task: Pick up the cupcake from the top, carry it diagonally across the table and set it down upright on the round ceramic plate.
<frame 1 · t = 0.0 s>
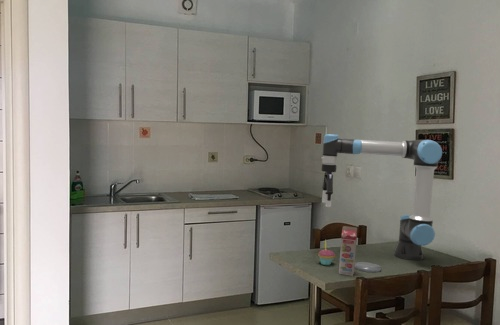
hand: (326, 204, 240), 28 cm above the table, tool pointing down, fingers open, 13 cm apart
juice carton: (346, 273, 217), on the table
cupcake: (325, 264, 230), on the table
plate: (367, 268, 227), on the table
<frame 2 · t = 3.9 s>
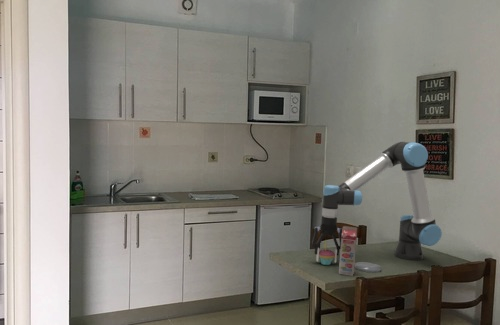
hand: (326, 261, 230), 1 cm above the table, tool pointing down, fingers closed on cupcake, 8 cm apart
cupcake: (325, 264, 230), on the table, touching gripper
everything else where it was.
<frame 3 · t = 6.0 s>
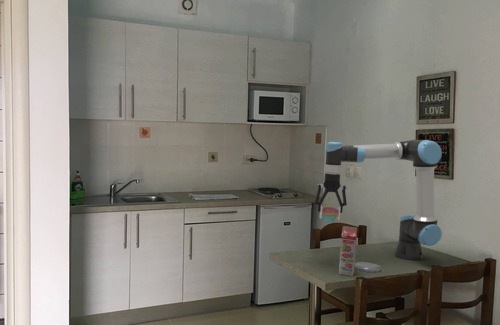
hand: (329, 218, 229), 23 cm above the table, tool pointing down, fingers closed on cupcake, 8 cm apart
cupcake: (329, 221, 229), point 21 cm above the table, touching gripper
everything else where it was.
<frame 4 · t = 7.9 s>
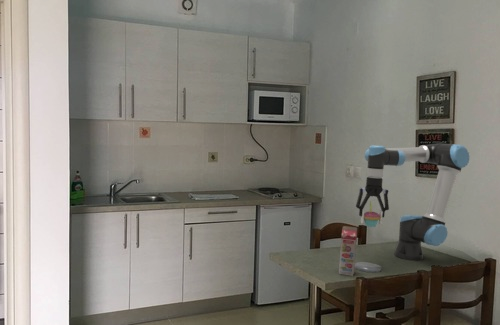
hand: (371, 223, 225), 22 cm above the table, tool pointing down, fingers closed on cupcake, 8 cm apart
cupcake: (370, 226, 225), point 21 cm above the table, touching gripper
everything else where it was.
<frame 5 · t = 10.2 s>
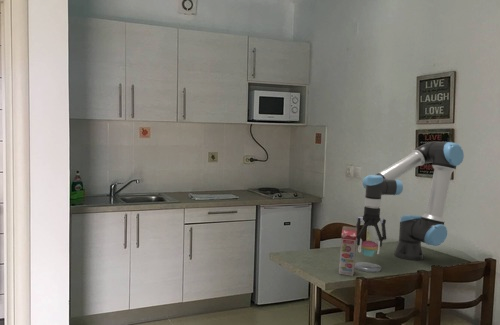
hand: (368, 252, 226), 8 cm above the table, tool pointing down, fingers closed on cupcake, 8 cm apart
cupcake: (368, 255, 226), point 6 cm above the table, touching gripper
everything else where it was.
when the fingers open (4 cm above the table, at t = 12.1 s): cupcake drops 1 cm, resting on plate.
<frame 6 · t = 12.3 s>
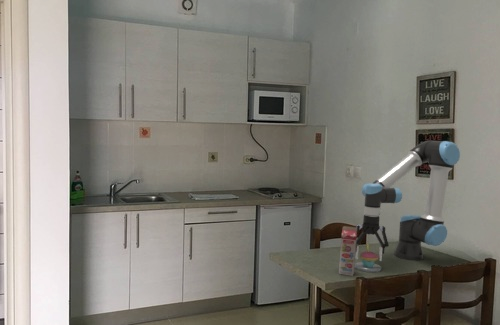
hand: (368, 259, 226), 4 cm above the table, tool pointing down, fingers open, 11 cm apart
cupcake: (368, 266, 227), point 1 cm above the table, touching plate
everything else where it was.
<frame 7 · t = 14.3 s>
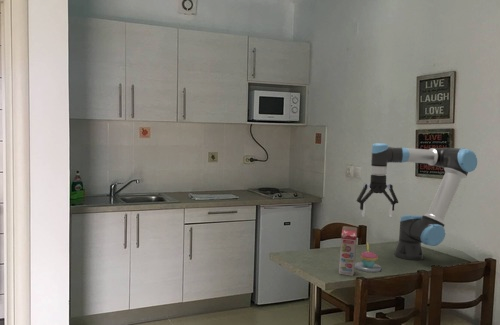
hand: (376, 216, 230), 25 cm above the table, tool pointing down, fingers open, 13 cm apart
nothing on the table moved.
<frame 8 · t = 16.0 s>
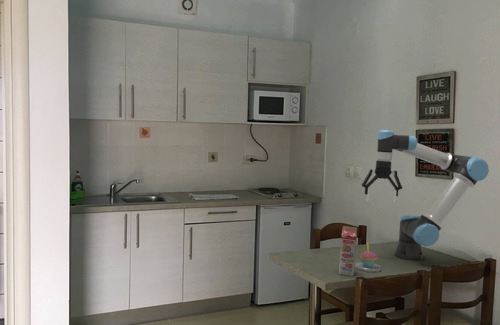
hand: (380, 201, 236), 32 cm above the table, tool pointing down, fingers open, 13 cm apart
nothing on the table moved.
at the end: cupcake inside the target area on the plate (0.3 cm from its centre), point 1.0 cm above the plate's base; cupcake tilted 0°; the gripper is holding nothing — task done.
